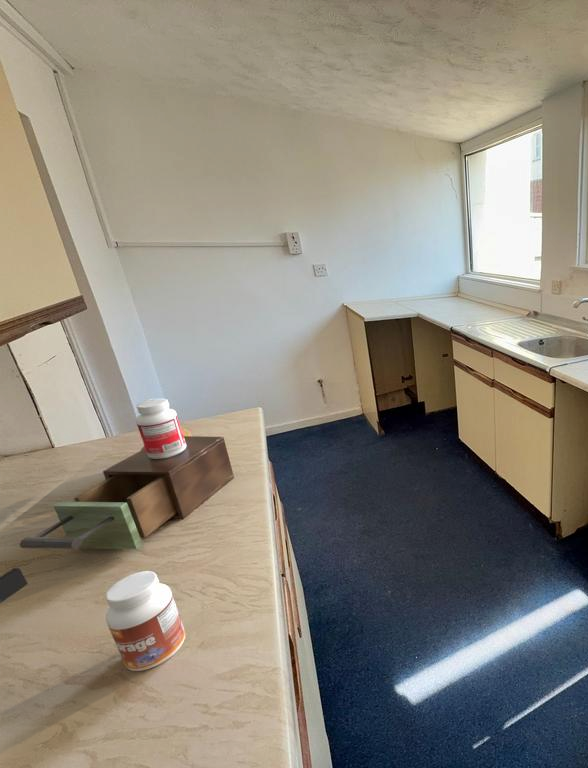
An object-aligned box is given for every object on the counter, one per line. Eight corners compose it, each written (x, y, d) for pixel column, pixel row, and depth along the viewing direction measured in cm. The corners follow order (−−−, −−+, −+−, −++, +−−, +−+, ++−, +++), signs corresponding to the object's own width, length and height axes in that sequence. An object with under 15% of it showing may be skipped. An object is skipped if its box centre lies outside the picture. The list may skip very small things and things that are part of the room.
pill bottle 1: (161, 446, 83) (145, 397, 80) (193, 444, 84) (179, 396, 81) (140, 461, 78) (122, 409, 74) (175, 458, 78) (159, 407, 75)
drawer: (97, 580, 62) (77, 535, 59) (26, 579, 62) (2, 533, 59) (196, 501, 81) (185, 464, 78) (142, 500, 81) (128, 463, 78)
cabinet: (183, 519, 77) (168, 472, 74) (120, 518, 78) (102, 471, 74) (234, 477, 91) (223, 436, 88) (180, 477, 91) (167, 435, 88)
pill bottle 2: (112, 675, 49) (80, 608, 46) (149, 630, 55) (124, 567, 51) (165, 671, 50) (138, 604, 46) (197, 626, 56) (175, 564, 52)
